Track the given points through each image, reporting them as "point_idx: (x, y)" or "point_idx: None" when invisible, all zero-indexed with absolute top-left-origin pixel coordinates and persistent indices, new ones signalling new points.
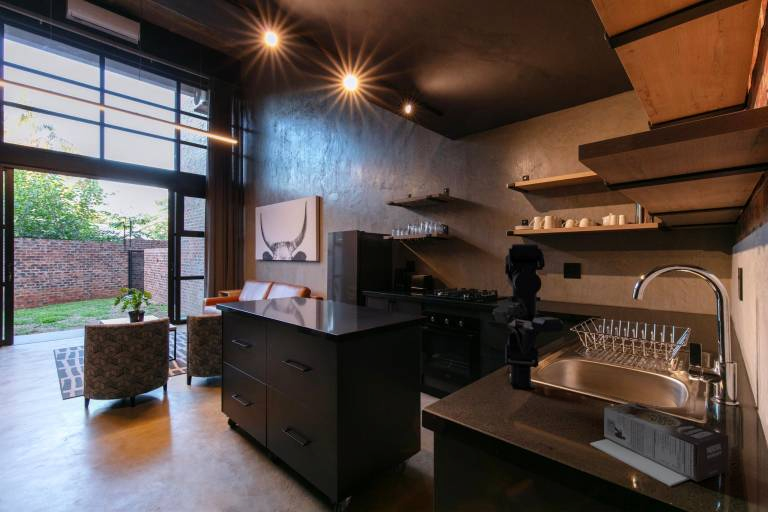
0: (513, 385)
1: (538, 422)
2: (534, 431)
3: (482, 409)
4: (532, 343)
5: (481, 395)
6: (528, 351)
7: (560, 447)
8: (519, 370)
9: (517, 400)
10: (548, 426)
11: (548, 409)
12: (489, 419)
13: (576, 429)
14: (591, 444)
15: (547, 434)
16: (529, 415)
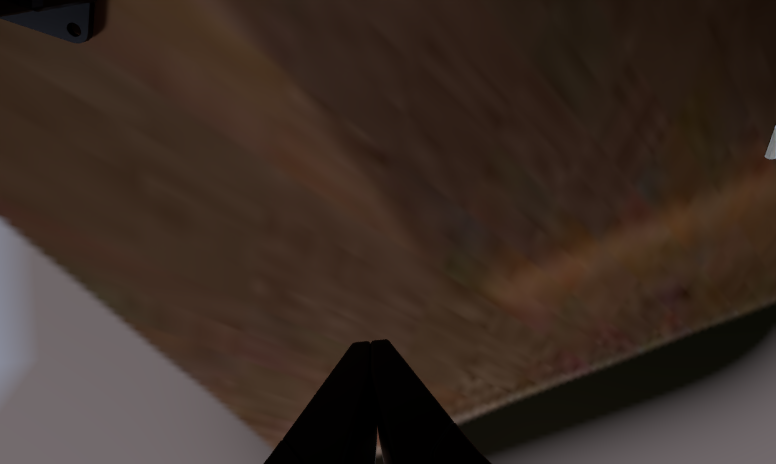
0: (53, 22)
1: (536, 212)
2: (582, 272)
3: (352, 338)
4: (441, 410)
5: (195, 274)
6: (399, 354)
7: (702, 265)
8: (5, 7)
9: (290, 143)
10: (581, 198)
11: (446, 59)
12: (439, 354)
13: (664, 103)
14: (771, 157)
15: (622, 246)
16: (467, 203)
